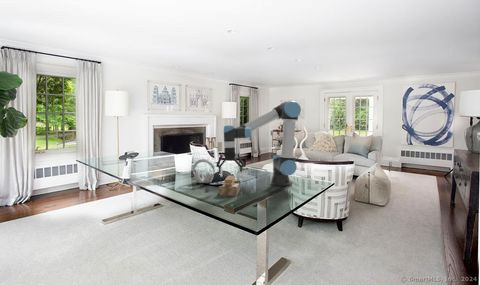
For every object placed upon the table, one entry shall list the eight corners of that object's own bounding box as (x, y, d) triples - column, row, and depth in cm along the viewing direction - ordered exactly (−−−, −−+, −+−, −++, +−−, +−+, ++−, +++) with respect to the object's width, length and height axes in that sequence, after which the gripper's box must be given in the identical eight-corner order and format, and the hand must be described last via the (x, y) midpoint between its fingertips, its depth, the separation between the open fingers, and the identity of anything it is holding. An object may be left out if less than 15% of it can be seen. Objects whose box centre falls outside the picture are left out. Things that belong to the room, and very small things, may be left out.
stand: (240, 188, 200) (240, 180, 199) (236, 195, 180) (236, 187, 180) (225, 187, 202) (224, 180, 201) (219, 195, 182) (218, 186, 181)
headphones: (216, 182, 220) (216, 158, 218) (213, 185, 210) (212, 160, 208) (195, 181, 223) (195, 158, 221) (191, 184, 213) (190, 159, 211)
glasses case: (235, 183, 197) (235, 175, 197) (231, 188, 183) (231, 179, 183) (228, 183, 198) (228, 175, 197) (224, 188, 184) (224, 179, 183)
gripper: (247, 146, 190) (248, 175, 192) (213, 146, 194) (215, 175, 196) (246, 147, 182) (247, 177, 184) (211, 148, 186) (212, 177, 188)
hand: (230, 176), depth 190 cm, fingers open, 13 cm apart
